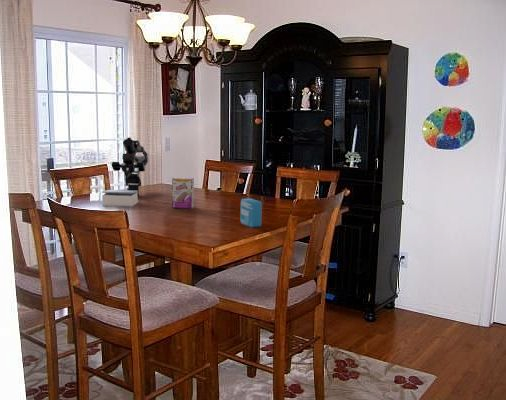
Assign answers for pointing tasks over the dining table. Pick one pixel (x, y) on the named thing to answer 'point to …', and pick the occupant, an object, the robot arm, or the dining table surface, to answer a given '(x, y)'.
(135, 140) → the robot arm
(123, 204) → the storage box
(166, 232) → the dining table surface
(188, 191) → the candy bar box
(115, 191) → the lid
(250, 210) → the data package
